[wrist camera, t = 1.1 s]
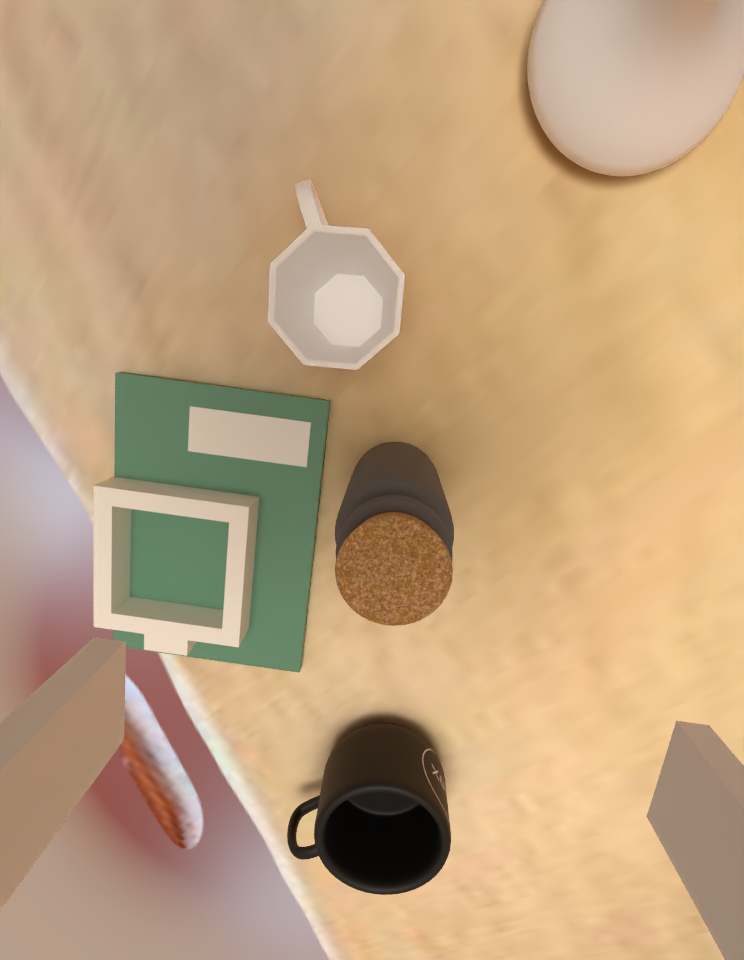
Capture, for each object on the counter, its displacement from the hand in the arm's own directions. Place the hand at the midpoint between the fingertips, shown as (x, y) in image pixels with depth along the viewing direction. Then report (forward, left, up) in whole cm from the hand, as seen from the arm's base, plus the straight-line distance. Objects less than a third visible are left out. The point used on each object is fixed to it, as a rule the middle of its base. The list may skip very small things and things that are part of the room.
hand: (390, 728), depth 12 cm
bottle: (0, 0, -24) cm, 24 cm away
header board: (+5, -12, -24) cm, 27 cm away
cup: (-12, -5, -24) cm, 27 cm away
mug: (+23, +1, -24) cm, 33 cm away
